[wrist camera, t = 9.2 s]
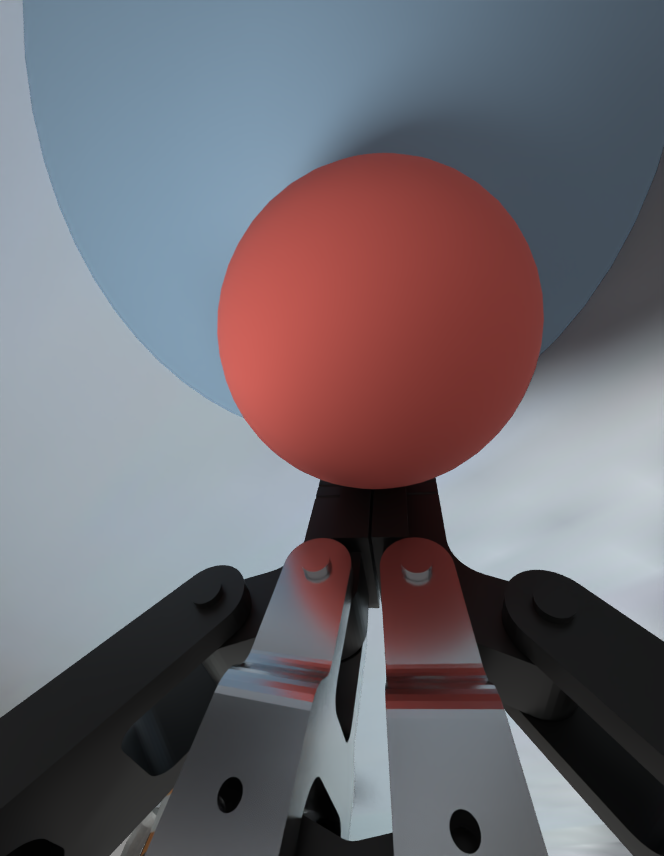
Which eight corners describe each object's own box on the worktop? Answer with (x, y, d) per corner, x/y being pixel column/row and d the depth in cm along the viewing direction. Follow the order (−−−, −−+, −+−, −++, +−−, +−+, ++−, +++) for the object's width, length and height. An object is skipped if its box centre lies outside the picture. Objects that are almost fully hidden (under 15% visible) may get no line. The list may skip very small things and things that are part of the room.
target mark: (178, 449, 13) (176, 453, 13) (-129, -195, 6) (-143, -207, 6) (594, 417, 11) (598, 420, 10) (880, -783, 4) (906, -834, 3)
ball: (206, 571, 6) (82, 79, 3) (268, 427, 11) (237, 207, 9) (587, 553, 5) (735, 32, 3) (458, 417, 11) (477, 191, 9)
